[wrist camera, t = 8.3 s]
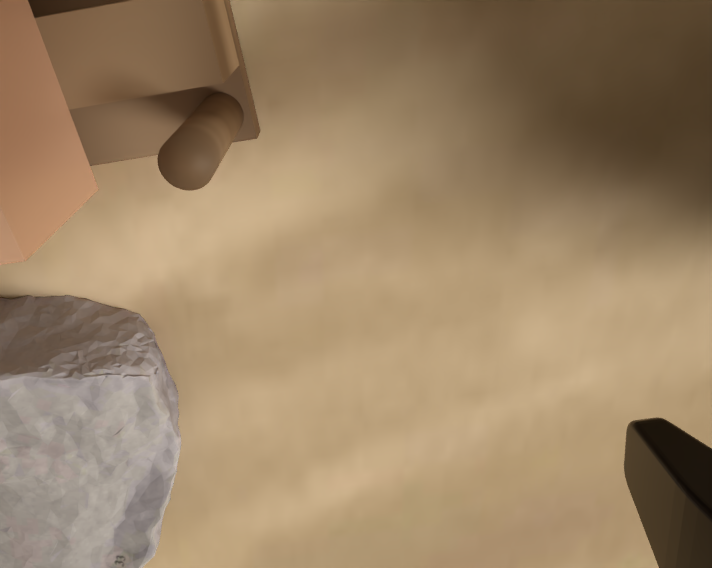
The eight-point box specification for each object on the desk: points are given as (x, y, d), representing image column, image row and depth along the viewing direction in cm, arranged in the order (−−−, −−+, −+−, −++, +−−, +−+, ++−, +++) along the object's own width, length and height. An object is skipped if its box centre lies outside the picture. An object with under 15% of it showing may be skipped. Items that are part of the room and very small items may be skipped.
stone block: (180, 274, 22) (-137, 275, 20) (177, 355, 18) (-220, 368, 16) (186, 493, 28) (-57, 514, 26) (184, 589, 24) (-103, 625, 22)
